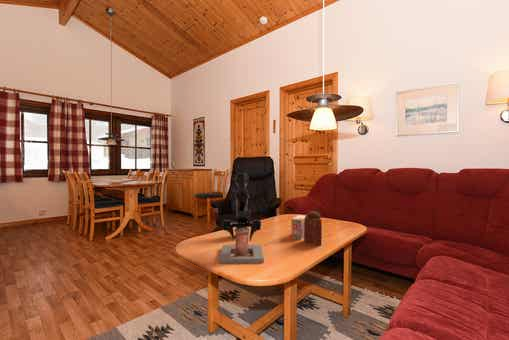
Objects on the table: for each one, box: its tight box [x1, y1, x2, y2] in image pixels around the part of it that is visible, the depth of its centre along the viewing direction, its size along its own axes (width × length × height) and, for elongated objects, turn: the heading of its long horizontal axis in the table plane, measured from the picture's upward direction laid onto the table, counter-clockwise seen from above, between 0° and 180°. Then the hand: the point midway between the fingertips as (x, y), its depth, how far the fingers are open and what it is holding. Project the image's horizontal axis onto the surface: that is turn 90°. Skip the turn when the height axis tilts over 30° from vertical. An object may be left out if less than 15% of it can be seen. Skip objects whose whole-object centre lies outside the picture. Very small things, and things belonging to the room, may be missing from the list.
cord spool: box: [234, 227, 250, 257], centre depth 121 cm, size 7×7×13 cm
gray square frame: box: [218, 244, 265, 264], centre depth 123 cm, size 19×20×2 cm
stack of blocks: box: [290, 214, 306, 241], centre depth 159 cm, size 21×6×12 cm, turn 151°
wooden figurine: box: [303, 210, 323, 246], centre depth 144 cm, size 12×6×18 cm, turn 46°
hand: (241, 240), depth 120 cm, fingers open, 8 cm apart
